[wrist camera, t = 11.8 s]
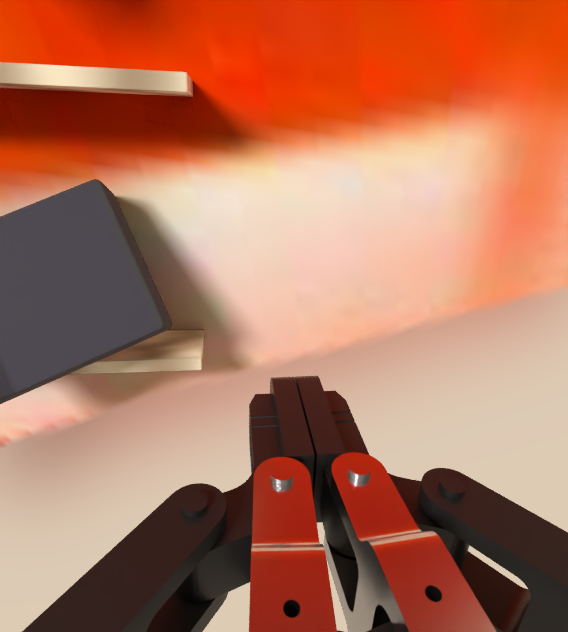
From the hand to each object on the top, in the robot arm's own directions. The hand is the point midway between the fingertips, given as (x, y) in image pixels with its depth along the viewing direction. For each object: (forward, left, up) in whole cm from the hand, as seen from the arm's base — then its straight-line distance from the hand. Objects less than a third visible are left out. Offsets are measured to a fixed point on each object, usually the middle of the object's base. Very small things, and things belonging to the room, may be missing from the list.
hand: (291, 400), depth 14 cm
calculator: (+8, +1, -19) cm, 20 cm away
